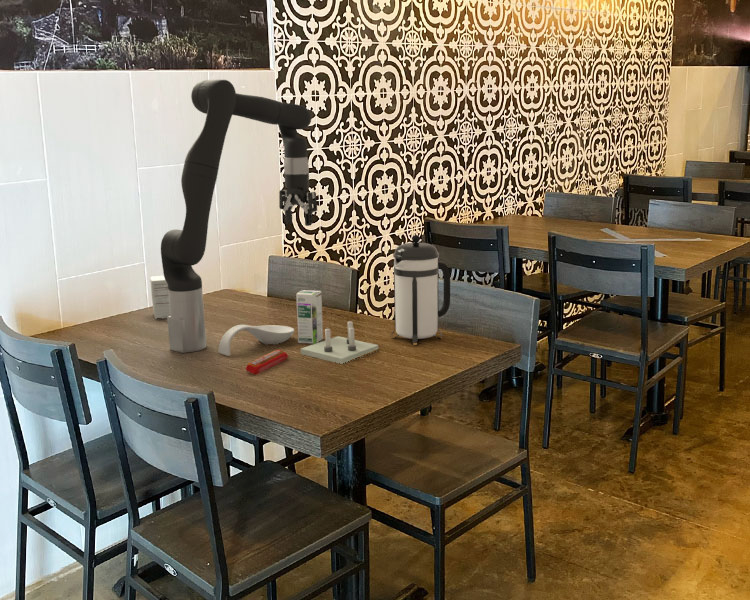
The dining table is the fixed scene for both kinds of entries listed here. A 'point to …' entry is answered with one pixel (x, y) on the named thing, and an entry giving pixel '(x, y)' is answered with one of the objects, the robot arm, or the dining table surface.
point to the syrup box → (309, 316)
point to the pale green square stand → (339, 347)
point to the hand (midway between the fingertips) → (298, 224)
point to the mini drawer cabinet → (160, 297)
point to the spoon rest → (256, 335)
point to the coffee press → (418, 290)
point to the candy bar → (266, 362)
